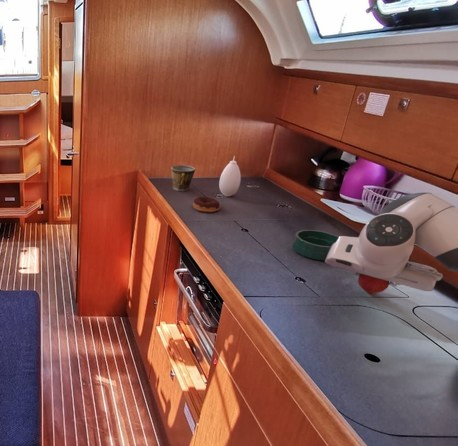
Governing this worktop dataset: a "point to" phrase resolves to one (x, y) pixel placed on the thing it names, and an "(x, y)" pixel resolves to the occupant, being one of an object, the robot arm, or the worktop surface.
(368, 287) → the red pomegranate
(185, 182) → the ceramic cup
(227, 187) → the white tall oval
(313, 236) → the bowl
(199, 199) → the donut
